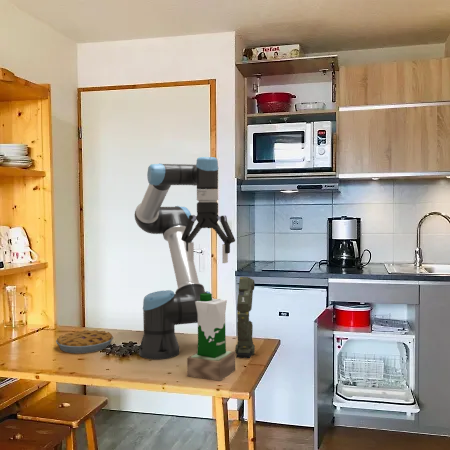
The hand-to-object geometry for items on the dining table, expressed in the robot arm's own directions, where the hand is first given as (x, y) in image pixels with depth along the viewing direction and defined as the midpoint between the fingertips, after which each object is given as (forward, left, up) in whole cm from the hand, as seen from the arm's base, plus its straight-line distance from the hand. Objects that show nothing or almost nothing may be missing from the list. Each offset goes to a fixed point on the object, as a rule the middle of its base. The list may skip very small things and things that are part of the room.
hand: (207, 261), depth 181 cm
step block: (+6, -9, -36) cm, 38 cm away
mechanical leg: (+7, +16, -36) cm, 41 cm away
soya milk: (+6, -9, -30) cm, 32 cm away
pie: (-55, 0, -37) cm, 66 cm away
